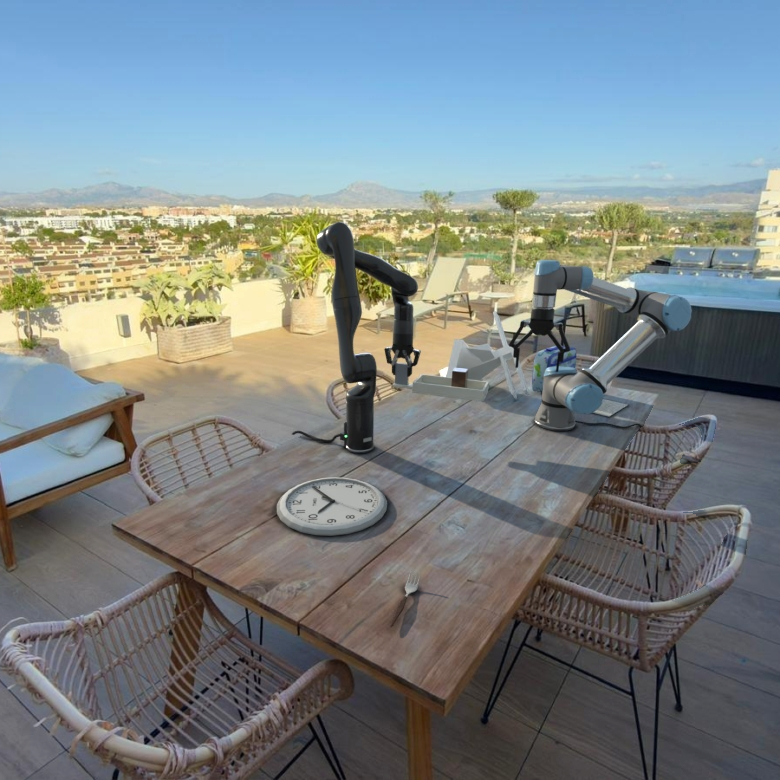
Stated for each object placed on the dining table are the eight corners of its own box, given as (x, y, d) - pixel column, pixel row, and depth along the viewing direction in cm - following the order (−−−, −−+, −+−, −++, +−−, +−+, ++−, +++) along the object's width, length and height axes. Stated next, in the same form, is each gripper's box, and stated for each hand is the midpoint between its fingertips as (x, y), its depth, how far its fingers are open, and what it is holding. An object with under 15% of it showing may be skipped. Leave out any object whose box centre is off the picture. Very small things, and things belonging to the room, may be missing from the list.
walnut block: (466, 389, 194) (468, 368, 191) (464, 393, 189) (466, 372, 187) (453, 388, 195) (454, 367, 193) (450, 392, 190) (452, 370, 188)
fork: (384, 627, 99) (384, 618, 99) (410, 577, 114) (410, 569, 113) (397, 631, 99) (397, 622, 98) (421, 580, 113) (421, 572, 112)
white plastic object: (461, 429, 252) (437, 405, 227) (444, 352, 274) (420, 323, 250) (535, 404, 240) (518, 377, 215) (510, 326, 262) (492, 293, 237)
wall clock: (392, 527, 129) (268, 531, 127) (391, 533, 130) (269, 537, 127) (383, 473, 158) (282, 475, 155) (383, 478, 158) (282, 480, 156)
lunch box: (548, 398, 236) (553, 353, 229) (527, 393, 243) (531, 349, 237) (575, 387, 253) (581, 344, 247) (555, 382, 260) (560, 341, 254)
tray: (488, 392, 195) (490, 368, 192) (483, 401, 184) (485, 377, 181) (398, 381, 205) (399, 359, 202) (388, 389, 194) (389, 366, 192)
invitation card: (608, 416, 214) (573, 407, 224) (608, 416, 214) (573, 408, 224) (628, 404, 229) (594, 396, 238) (628, 405, 229) (594, 397, 238)
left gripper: (424, 331, 194) (422, 375, 199) (388, 327, 198) (387, 371, 203) (419, 334, 187) (417, 380, 192) (381, 331, 191) (380, 376, 196)
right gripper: (582, 308, 175) (574, 369, 181) (506, 303, 182) (501, 362, 189) (582, 311, 168) (574, 375, 174) (504, 306, 175) (499, 367, 182)
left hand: (401, 375), depth 198 cm, fingers closed on tray, 5 cm apart
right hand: (536, 368), depth 181 cm, fingers open, 13 cm apart
